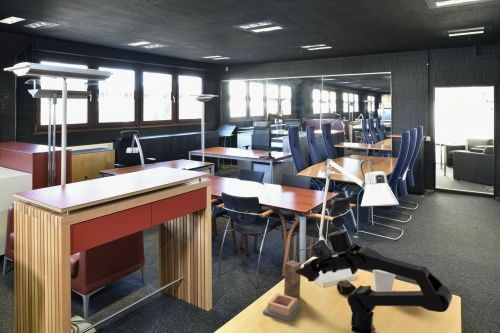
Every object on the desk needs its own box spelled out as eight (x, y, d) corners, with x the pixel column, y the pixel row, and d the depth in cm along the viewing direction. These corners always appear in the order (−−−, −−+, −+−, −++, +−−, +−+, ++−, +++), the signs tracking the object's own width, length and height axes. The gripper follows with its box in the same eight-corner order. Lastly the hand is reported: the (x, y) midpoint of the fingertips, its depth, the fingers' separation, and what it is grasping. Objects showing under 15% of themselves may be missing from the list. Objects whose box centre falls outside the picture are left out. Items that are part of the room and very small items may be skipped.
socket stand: (301, 307, 144) (301, 297, 143) (290, 321, 134) (290, 311, 133) (275, 300, 149) (275, 290, 148) (262, 313, 139) (263, 303, 138)
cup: (380, 300, 149) (382, 274, 148) (365, 289, 159) (367, 264, 157) (400, 296, 152) (402, 271, 151) (384, 285, 162) (386, 261, 160)
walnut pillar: (299, 296, 152) (300, 263, 150) (292, 299, 149) (293, 266, 147) (291, 292, 155) (292, 260, 153) (284, 295, 152) (285, 263, 150)
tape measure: (356, 294, 154) (357, 286, 154) (342, 296, 152) (342, 288, 152) (347, 286, 161) (348, 278, 160) (333, 289, 159) (333, 280, 158)
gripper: (341, 233, 141) (307, 240, 150) (318, 247, 126) (282, 254, 136) (351, 261, 140) (315, 267, 150) (329, 279, 125) (291, 284, 135)
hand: (301, 267), depth 142 cm, fingers open, 9 cm apart
